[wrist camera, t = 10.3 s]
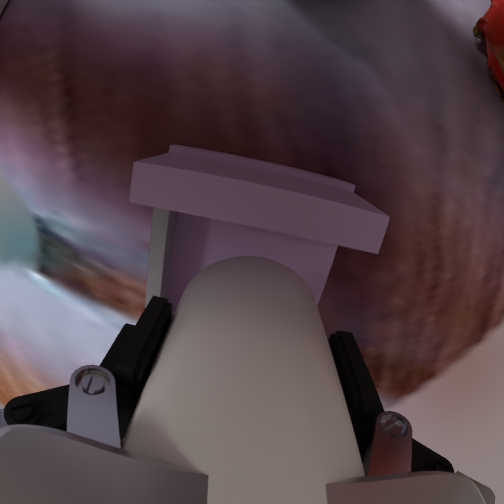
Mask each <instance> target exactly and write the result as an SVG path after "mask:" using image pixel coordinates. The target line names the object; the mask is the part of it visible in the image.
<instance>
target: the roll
mask: <svg viewBox="0 0 504 504" xmlns="http://www.w3.org/2000/svg"><path fill="white" fill-rule="evenodd" d="M121 449H124V450H128V451H131V452H135V453H139V454H142V455H146V456H150V457H154V458H158V459H162V460H165V461H167V462H170V463H172V464H175V465H178V466H181V467H183V468H186V469H189V470H192V471H195V472H198V473H202V474H205V475H209V477H208V496H207V504H327V495H326V485H325V484H328V483H334V482H338V481H342V480H346V479H349V478H352V477H363V476H365V473H364V469H363V465H362V461H361V457H360V453H359V449H358V445H357V441H356V437H355V434H354V430H353V426H352V422H351V419H350V415H349V412H348V408H347V404H346V401H345V397H344V394H343V390H342V387H341V383H340V380H339V376H338V373H337V370H336V366H335V363H334V359H333V356H332V353H331V349H330V346H329V343H328V340H327V336H326V333H325V330H324V327H323V324H322V320H321V317H320V314H319V311H318V308H317V305H316V302H315V299H314V296H313V294H312V292H311V290H310V288H309V286H308V285H307V284H306V282H305V281H304V280H303V279H302V278H301V277H300V276H299V275H298V274H297V273H296V272H294V271H293V270H292V269H290V268H289V267H287V266H285V265H283V264H281V263H279V262H276V261H274V260H271V259H267V258H263V257H256V256H238V257H231V258H227V259H223V260H220V261H218V262H215V263H213V264H211V265H209V266H207V267H206V268H204V269H203V270H201V271H200V272H199V273H198V274H197V275H196V276H195V277H193V279H192V280H191V281H190V282H189V284H188V285H187V287H186V289H185V290H184V292H183V295H182V297H181V299H180V301H179V304H178V306H177V308H176V311H175V313H174V315H173V318H172V320H171V322H170V325H169V327H168V329H167V332H166V334H165V336H164V339H163V341H162V343H161V346H160V348H159V351H158V353H157V356H156V358H155V360H154V363H153V365H152V368H151V370H150V373H149V375H148V378H147V380H146V383H145V385H144V388H143V390H142V393H141V395H140V398H139V400H138V403H137V406H136V408H135V411H134V413H133V416H132V419H131V421H130V424H129V427H128V429H127V432H126V435H125V437H124V440H123V443H122V445H121Z"/></svg>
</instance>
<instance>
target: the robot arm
mask: <svg viewBox="0 0 504 504" xmlns="http://www.w3.org/2000/svg"><path fill="white" fill-rule="evenodd" d="M7 2H8V0H0V15H1V13H2V11H3V9H4V7H5V5H6V4H7ZM171 316H172V303H168V299H167V298H163V297H158V296H153V297H152V298H151V300H150V301H149V303H148V305H147V307H146V308H145V310H144V312H143V313H142V315H141V317H140V318H139V320H138V322H137V324H136V325H131V324H125V325H124V326H123V328H122V330H121V331H120V333H119V334H118V336H117V338H116V339H115V341H114V343H113V344H112V346H111V348H110V349H109V351H108V353H107V354H106V356H105V358H104V359H103V361H102V363H101V364H100V366H97V365H86V366H82V367H80V368H78V369H77V370H75V371H74V372H73V374H72V375H71V378H70V384H69V385H65V386H61V387H57V388H53V389H49V390H44V391H40V392H36V393H32V394H27V395H23V396H18V397H16V398H13V399H12V400H10V401H9V402H8V403H7V405H6V406H5V408H3V409H0V504H207V496H208V477H209V475H205V474H202V473H198V472H195V471H192V470H189V469H186V468H183V467H181V466H178V465H175V464H172V463H170V462H167V461H165V460H162V459H158V458H154V457H150V456H146V455H142V454H139V453H135V452H131V451H128V450H124V449H121V445H122V443H123V439H124V437H125V435H126V432H127V429H128V427H129V424H130V421H131V419H132V416H133V413H134V411H135V408H136V406H137V403H138V400H139V398H140V395H141V393H142V390H143V388H144V385H145V383H146V380H147V378H148V375H149V373H150V370H151V368H152V365H153V363H154V360H155V358H156V356H157V353H158V351H159V348H160V346H161V343H162V341H163V339H164V336H165V334H166V332H167V329H168V327H169V325H170V322H171ZM328 343H329V346H330V349H331V353H332V356H333V359H334V363H335V366H336V370H337V373H338V376H339V380H340V383H341V387H342V390H343V394H344V397H345V401H346V404H347V408H348V412H349V415H350V419H351V422H352V426H353V430H354V434H355V437H356V441H357V445H358V449H359V453H360V457H361V461H362V465H363V469H364V473H365V476H363V477H352V478H349V479H346V480H342V481H338V482H334V483H328V484H325V485H326V495H327V504H495V495H494V493H493V491H492V490H491V489H490V488H489V487H487V486H485V485H483V484H481V483H479V482H477V481H475V480H473V479H472V478H470V477H468V476H466V475H464V474H462V473H460V472H459V471H457V472H456V473H454V469H453V467H452V464H451V463H450V462H449V461H448V460H447V459H446V458H444V457H442V456H441V455H439V454H437V453H436V452H434V451H432V450H431V449H429V448H427V447H426V446H424V445H422V444H421V443H419V442H418V441H416V440H414V439H413V438H412V427H411V424H410V422H409V421H408V420H407V419H406V418H405V417H404V416H403V415H401V414H399V413H396V412H393V411H384V409H383V406H382V403H381V401H380V398H379V396H378V393H377V391H376V388H375V386H374V383H373V381H372V378H371V376H370V373H369V371H368V369H367V367H366V365H365V362H364V360H363V357H362V355H361V353H360V350H359V348H358V345H357V343H356V341H355V338H354V336H353V334H352V333H351V332H345V331H337V332H336V333H335V334H332V335H331V336H330V339H329V341H328Z"/></svg>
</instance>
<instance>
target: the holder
mask: <svg viewBox="0 0 504 504" xmlns="http://www.w3.org/2000/svg"><path fill="white" fill-rule="evenodd" d="M354 190H355V185H354V184H352V183H350V182H347V181H344V180H340V179H336V178H333V177H329V176H325V175H321V174H317V173H314V172H310V171H306V170H302V169H297V168H293V167H289V166H285V165H280V164H276V163H272V162H267V161H263V160H258V159H253V158H248V157H244V156H239V155H234V154H228V153H223V152H218V151H212V150H207V149H201V148H195V147H189V146H183V145H176V144H175V145H170V148H169V153H165V154H161V155H157V156H153V157H149V158H146V159H142V160H138V161H134V164H133V171H132V179H131V188H130V197H129V203H133V204H139V205H144V206H150V207H154V211H153V220H152V229H151V238H150V249H149V260H148V273H147V288H146V306H145V308H146V307H147V305H148V303H149V301H150V300H151V298H152V297H153V296H158V297H163V298H167V299H168V303H172V316H171V320H172V318H173V315H174V313H175V311H176V308H177V306H178V304H179V301H180V299H181V297H182V295H183V292H184V290H185V289H186V287H187V285H188V284H189V282H190V281H191V280H192V279H193V277H195V276H196V275H197V274H198V273H199V272H200V271H201V270H203V269H204V268H206V267H207V266H209V265H211V264H213V263H215V262H218V261H220V260H223V259H227V258H231V257H238V256H256V257H263V258H267V259H271V260H274V261H276V262H279V263H281V264H283V265H285V266H287V267H289V268H290V269H292V270H293V271H294V272H296V273H297V274H298V275H299V276H300V277H301V278H302V279H303V280H304V281H305V282H306V284H307V285H308V286H309V288H310V290H311V292H312V294H313V296H314V299H315V302H316V305H317V306H318V304H319V301H320V298H321V295H322V292H323V289H324V286H325V284H326V281H327V278H328V275H329V272H330V269H331V266H332V263H333V259H334V256H335V253H336V250H337V247H338V245H339V246H344V247H348V248H353V249H357V250H361V251H366V252H370V253H374V254H378V253H379V250H380V247H381V244H382V241H383V238H384V235H385V232H386V229H387V226H388V223H389V220H390V217H389V216H388V215H387V214H385V213H384V212H382V211H381V210H379V209H378V208H376V207H375V206H373V205H372V204H370V203H369V202H367V201H366V200H364V199H363V198H361V197H360V196H358V195H357V194H355V193H354Z"/></svg>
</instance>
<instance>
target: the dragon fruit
mask: <svg viewBox="0 0 504 504" xmlns="http://www.w3.org/2000/svg"><path fill="white" fill-rule="evenodd" d="M473 34H474V36H475V37H477V38H478V39H480V40H482V39H483V38H484V37H485V38H486V49H487V54H488V68H489V71H490V74H489V77H490V79H491V81H492V82H493V84H494V87H495V89H496V91H497V92H498V94H499V96H500V98H501V100H502V101H503V102H504V0H491V6H490V8H489V10H488V11H487V12H486V14H485V15H484V16H483V17H482V18H480V19H479V20H478V22H477V23H476V26H475V27H474V29H473Z"/></svg>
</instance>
